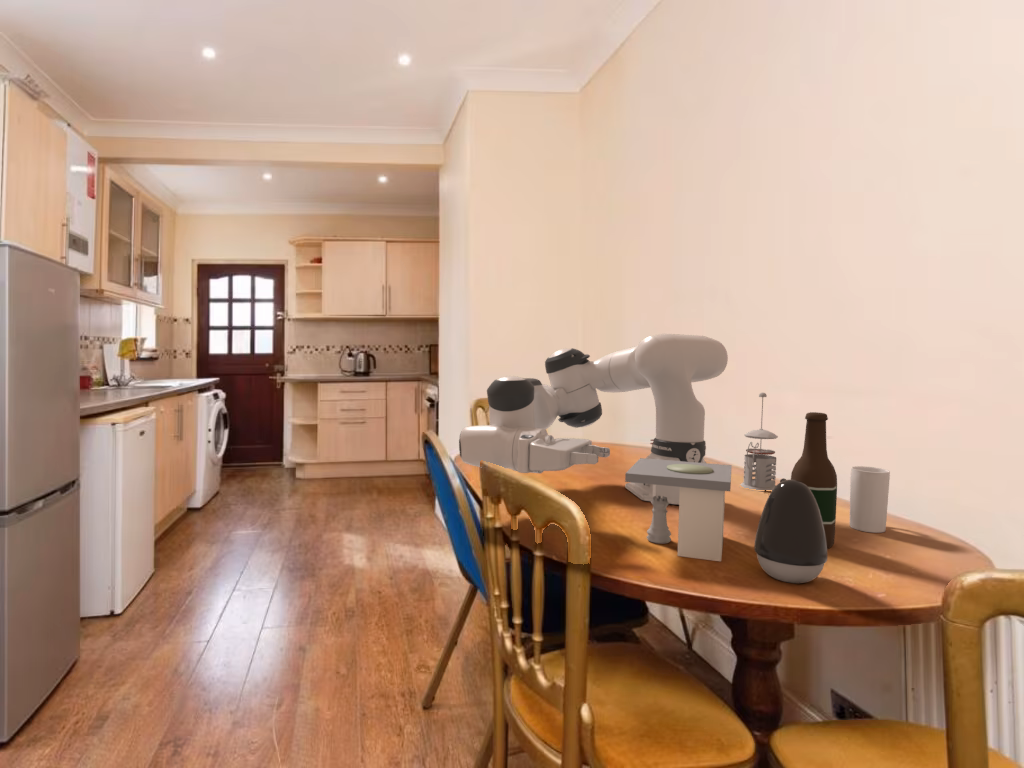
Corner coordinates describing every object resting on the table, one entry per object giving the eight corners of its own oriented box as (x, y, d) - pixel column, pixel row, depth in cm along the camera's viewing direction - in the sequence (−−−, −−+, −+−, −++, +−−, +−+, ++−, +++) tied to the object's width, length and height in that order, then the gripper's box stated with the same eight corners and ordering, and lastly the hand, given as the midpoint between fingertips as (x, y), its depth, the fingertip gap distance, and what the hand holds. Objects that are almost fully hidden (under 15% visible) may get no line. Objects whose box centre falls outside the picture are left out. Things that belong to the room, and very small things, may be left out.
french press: (785, 487, 159) (789, 393, 158) (768, 494, 151) (772, 394, 149) (748, 481, 166) (751, 390, 165) (729, 488, 157) (733, 392, 156)
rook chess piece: (672, 538, 112) (673, 495, 112) (670, 545, 108) (671, 501, 108) (647, 535, 114) (649, 493, 113) (644, 542, 109) (646, 498, 109)
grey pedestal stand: (623, 550, 104) (625, 471, 104) (638, 525, 120) (640, 456, 120) (727, 564, 99) (730, 480, 98) (728, 535, 114) (731, 463, 114)
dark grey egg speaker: (812, 567, 98) (816, 474, 97) (836, 592, 88) (841, 488, 87) (746, 563, 99) (750, 471, 99) (762, 586, 89) (766, 484, 88)
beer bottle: (816, 551, 106) (822, 415, 105) (778, 539, 113) (783, 411, 112) (844, 546, 110) (850, 414, 108) (806, 534, 116) (811, 410, 115)
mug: (887, 535, 117) (890, 474, 116) (847, 529, 120) (850, 470, 120) (885, 523, 126) (888, 466, 125) (848, 518, 129) (851, 462, 128)
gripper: (550, 459, 129) (614, 464, 124) (515, 474, 110) (589, 481, 105) (551, 429, 129) (615, 433, 123) (516, 439, 110) (590, 444, 104)
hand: (603, 455), depth 114 cm, fingers open, 8 cm apart
